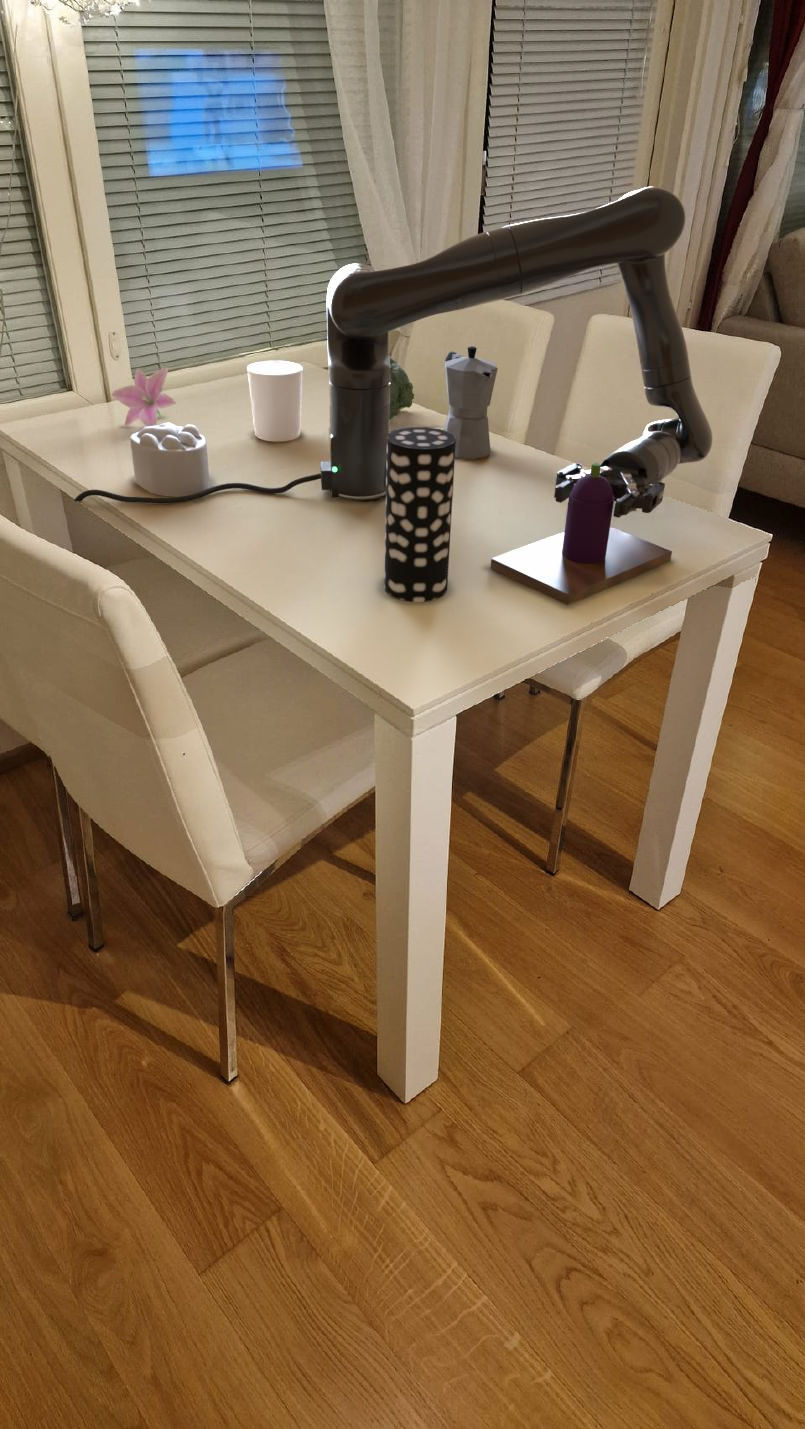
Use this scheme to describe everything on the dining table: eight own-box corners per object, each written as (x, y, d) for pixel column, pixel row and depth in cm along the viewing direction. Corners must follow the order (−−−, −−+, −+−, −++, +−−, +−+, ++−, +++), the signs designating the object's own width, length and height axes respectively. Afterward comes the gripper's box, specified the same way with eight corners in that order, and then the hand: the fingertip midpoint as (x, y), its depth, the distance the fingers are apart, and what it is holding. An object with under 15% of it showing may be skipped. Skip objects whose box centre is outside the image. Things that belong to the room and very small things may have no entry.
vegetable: (439, 404, 191) (407, 386, 178) (390, 447, 196) (356, 432, 182) (406, 357, 193) (373, 335, 180) (359, 400, 198) (323, 382, 185)
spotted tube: (382, 574, 132) (384, 427, 121) (443, 573, 133) (451, 427, 122) (386, 602, 125) (389, 449, 114) (450, 601, 126) (460, 449, 115)
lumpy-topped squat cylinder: (183, 465, 165) (177, 414, 160) (225, 487, 157) (221, 434, 152) (127, 479, 159) (120, 426, 155) (168, 502, 151) (162, 447, 147)
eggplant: (567, 564, 133) (579, 472, 126) (557, 546, 138) (568, 457, 131) (610, 563, 134) (625, 472, 127) (598, 545, 139) (611, 456, 132)
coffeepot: (506, 459, 172) (516, 353, 162) (459, 466, 169) (465, 358, 159) (465, 433, 184) (472, 333, 174) (420, 439, 180) (424, 336, 170)
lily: (113, 422, 187) (96, 384, 179) (163, 389, 190) (148, 350, 182) (149, 456, 183) (133, 419, 174) (199, 422, 186) (186, 384, 177)
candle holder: (315, 433, 182) (313, 366, 175) (282, 447, 175) (279, 378, 168) (273, 423, 186) (270, 357, 179) (239, 436, 179) (235, 368, 172)
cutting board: (567, 605, 126) (569, 594, 125) (490, 568, 135) (491, 558, 134) (670, 561, 138) (672, 551, 138) (593, 529, 147) (594, 520, 146)
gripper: (593, 434, 143) (542, 464, 132) (687, 454, 137) (641, 487, 125) (586, 483, 147) (536, 516, 136) (677, 505, 141) (632, 542, 130)
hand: (587, 502), depth 131 cm, fingers open, 8 cm apart
